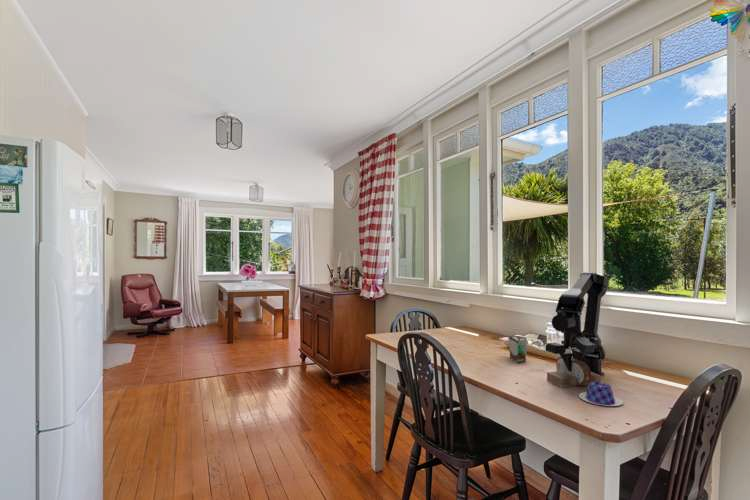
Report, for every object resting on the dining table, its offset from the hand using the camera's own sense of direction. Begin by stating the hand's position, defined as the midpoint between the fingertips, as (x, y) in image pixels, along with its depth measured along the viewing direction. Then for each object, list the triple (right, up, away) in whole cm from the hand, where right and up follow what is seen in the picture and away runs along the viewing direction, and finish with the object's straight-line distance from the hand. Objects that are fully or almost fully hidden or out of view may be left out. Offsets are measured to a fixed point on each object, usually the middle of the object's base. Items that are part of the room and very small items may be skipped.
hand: (573, 370), depth 134 cm
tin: (0, -4, 0) cm, 4 cm away
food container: (-7, -5, +30) cm, 31 cm away
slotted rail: (0, -4, 0) cm, 4 cm away
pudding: (-1, -4, -17) cm, 18 cm away
